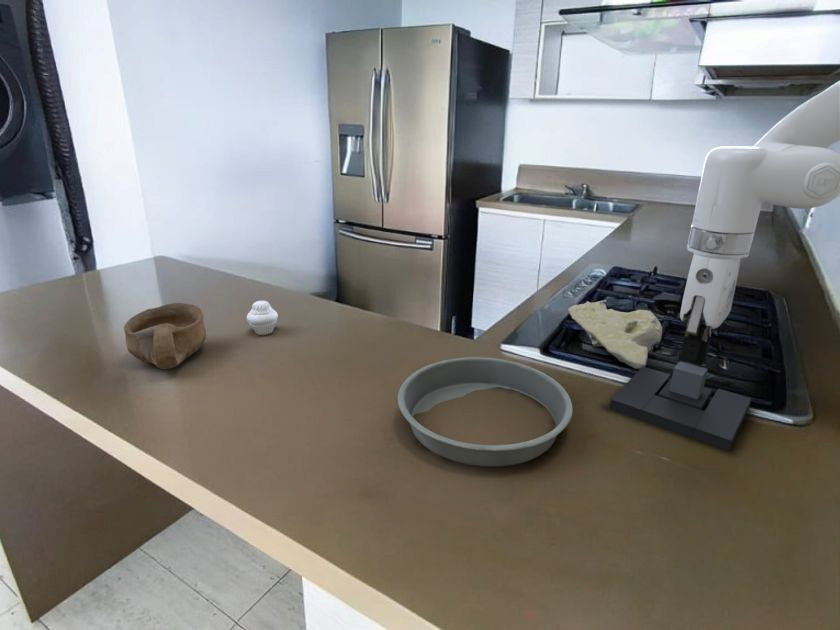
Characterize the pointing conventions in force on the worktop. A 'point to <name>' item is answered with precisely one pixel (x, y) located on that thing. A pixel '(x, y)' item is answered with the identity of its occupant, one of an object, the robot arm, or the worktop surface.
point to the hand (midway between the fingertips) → (692, 361)
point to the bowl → (165, 334)
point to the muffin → (262, 318)
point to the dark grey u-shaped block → (682, 409)
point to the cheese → (619, 331)
